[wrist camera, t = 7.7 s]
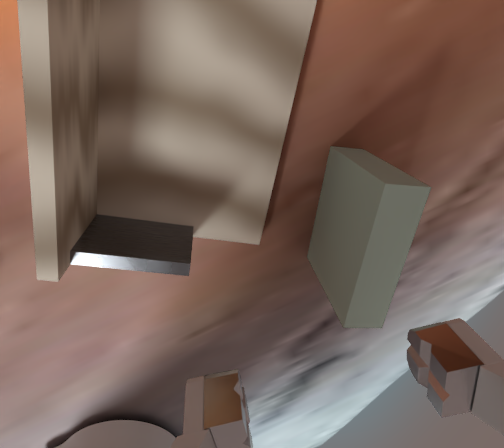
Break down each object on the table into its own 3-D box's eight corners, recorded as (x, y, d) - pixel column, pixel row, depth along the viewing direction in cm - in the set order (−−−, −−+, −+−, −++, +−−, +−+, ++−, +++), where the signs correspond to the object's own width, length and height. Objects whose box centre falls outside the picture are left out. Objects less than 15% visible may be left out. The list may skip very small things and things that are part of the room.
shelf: (257, 237, 32) (275, 301, 23) (86, 215, 29) (36, 279, 21) (314, -14, 24) (374, -55, 15) (87, -77, 21) (5, -171, 12)
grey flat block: (363, 149, 29) (431, 187, 21) (335, 258, 34) (381, 328, 25) (330, 146, 29) (385, 183, 20) (306, 256, 34) (343, 328, 25)
